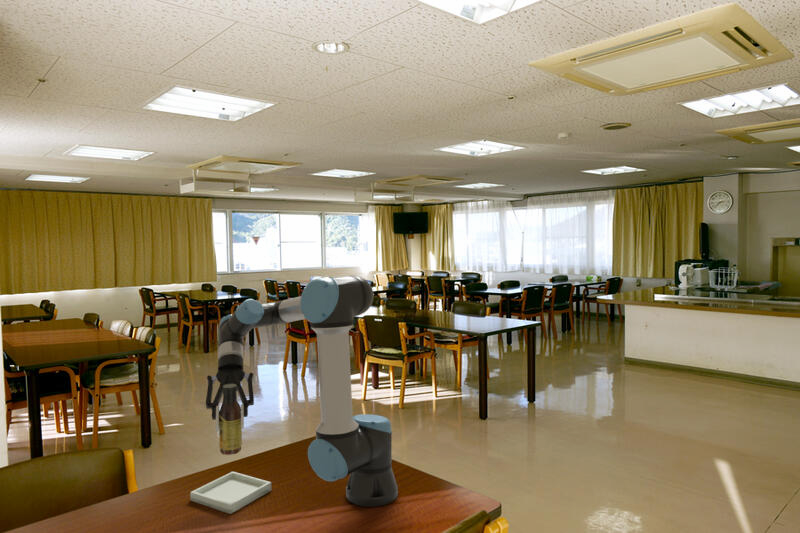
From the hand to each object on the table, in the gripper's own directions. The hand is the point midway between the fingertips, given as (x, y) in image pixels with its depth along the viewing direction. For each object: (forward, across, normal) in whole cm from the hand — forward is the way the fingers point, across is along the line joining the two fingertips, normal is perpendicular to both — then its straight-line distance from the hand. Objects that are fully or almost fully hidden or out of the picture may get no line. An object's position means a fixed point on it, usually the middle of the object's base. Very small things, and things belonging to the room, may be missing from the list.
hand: (229, 427), depth 152 cm
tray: (+13, 0, -17) cm, 22 cm away
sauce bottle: (+4, 0, -9) cm, 9 cm away
